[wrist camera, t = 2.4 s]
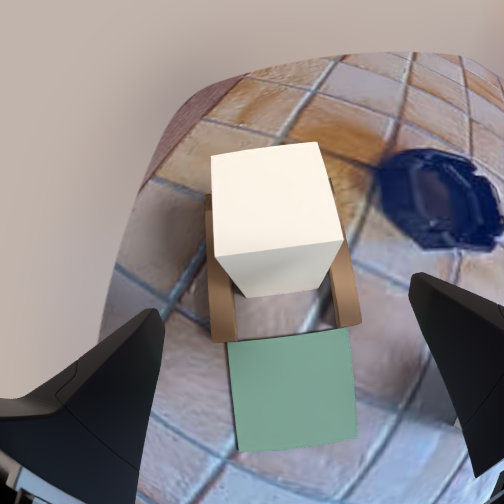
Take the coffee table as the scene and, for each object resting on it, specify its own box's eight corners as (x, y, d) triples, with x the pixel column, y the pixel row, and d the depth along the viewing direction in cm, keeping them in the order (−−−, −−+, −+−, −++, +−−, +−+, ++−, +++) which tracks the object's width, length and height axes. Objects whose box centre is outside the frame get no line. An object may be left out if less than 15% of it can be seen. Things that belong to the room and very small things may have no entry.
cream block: (318, 288, 20) (343, 239, 11) (246, 298, 21) (214, 256, 12) (306, 223, 22) (316, 142, 13) (240, 232, 23) (211, 156, 13)
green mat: (356, 436, 16) (357, 437, 16) (239, 450, 17) (239, 452, 16) (346, 327, 19) (347, 327, 19) (228, 342, 20) (227, 342, 20)
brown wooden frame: (356, 324, 19) (362, 323, 18) (216, 342, 20) (211, 342, 19) (328, 187, 23) (330, 177, 22) (209, 203, 24) (204, 194, 23)
